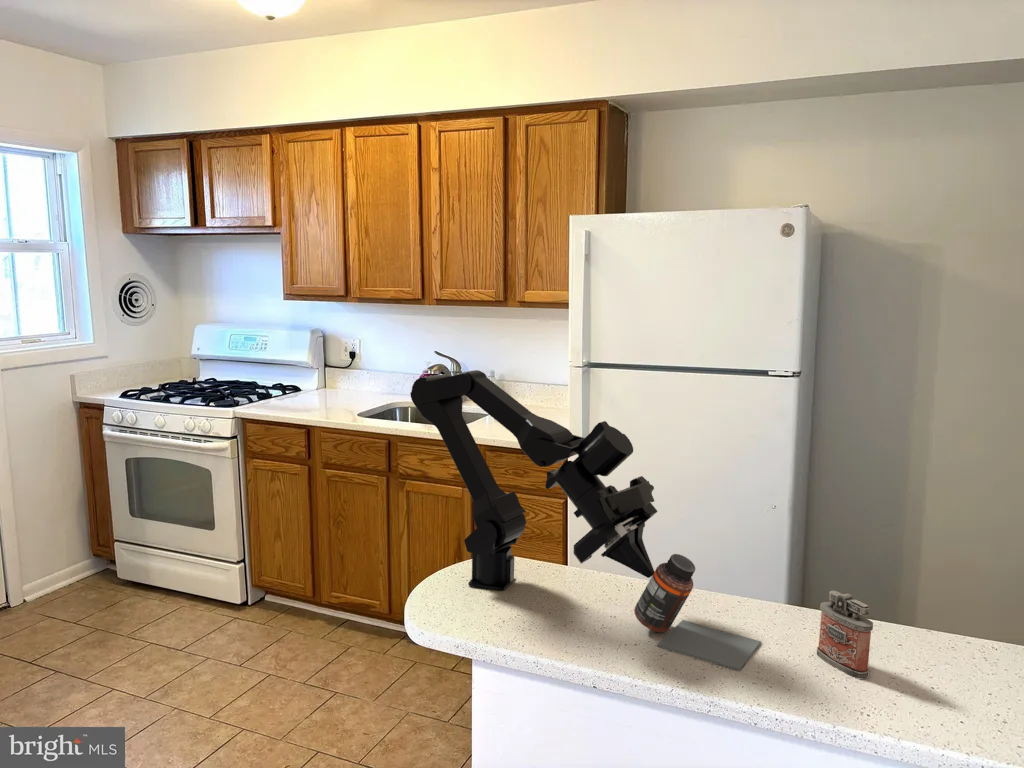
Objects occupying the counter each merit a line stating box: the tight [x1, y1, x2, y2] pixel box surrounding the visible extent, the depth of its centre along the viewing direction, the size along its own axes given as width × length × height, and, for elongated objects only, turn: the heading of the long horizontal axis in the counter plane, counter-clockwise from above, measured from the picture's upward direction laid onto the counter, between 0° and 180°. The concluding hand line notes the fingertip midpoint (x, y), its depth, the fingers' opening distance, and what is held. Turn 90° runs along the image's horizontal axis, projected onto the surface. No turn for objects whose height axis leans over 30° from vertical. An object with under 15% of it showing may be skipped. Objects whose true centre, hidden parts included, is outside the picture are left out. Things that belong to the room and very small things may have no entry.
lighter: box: [816, 590, 874, 679], centre depth 105 cm, size 8×3×10 cm, turn 23°
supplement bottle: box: [633, 553, 696, 633], centre depth 113 cm, size 6×6×11 cm
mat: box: [656, 619, 762, 672], centre depth 110 cm, size 12×10×1 cm
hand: (651, 575), depth 114 cm, fingers closed
